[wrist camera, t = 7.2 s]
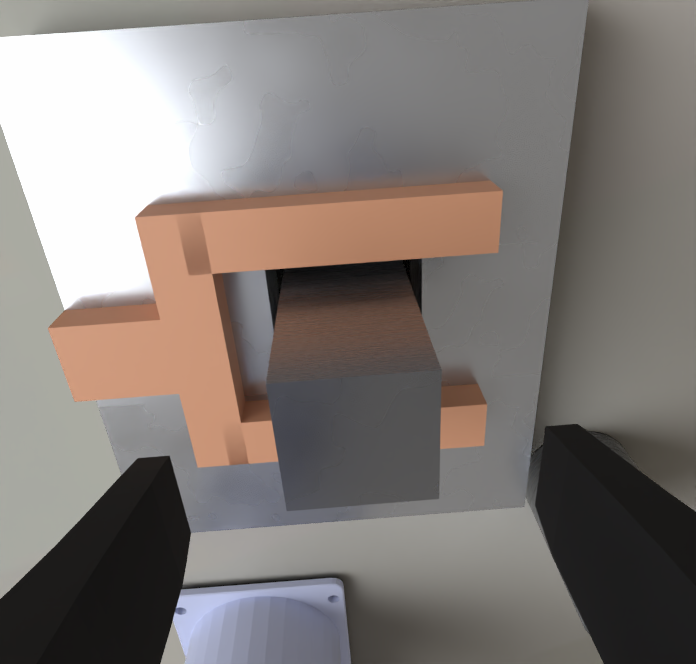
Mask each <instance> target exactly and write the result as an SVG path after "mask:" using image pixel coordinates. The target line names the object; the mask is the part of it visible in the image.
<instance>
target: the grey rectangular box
mask: <svg viewBox="0 0 696 664" xmlns="http://www.w3.org/2000/svg"><path fill="white" fill-rule="evenodd" d="M441 379H442V369H441V367H440V364H439V361H438V358H437V356H436V353H435V350H434V347H433V345H432V342H431V339H430V337H429V334H428V331H427V328H426V326H425V323H424V320H423V317H422V315H421V312H420V309H419V306H418V304H417V301H416V298H415V295H414V293H413V290H412V287H411V285H410V282H409V279H408V276H407V274H406V271H405V268H404V265H403V263H402V260H393V261H380V262H366V263H352V264H339V265H325V266H312V267H298V268H284V272H283V279H282V285H281V291H280V297H279V303H278V310H277V316H276V322H275V328H274V335H273V341H272V347H271V353H270V359H269V366H268V372H267V378H266V389H267V395H268V401H269V407H270V414H271V420H272V426H273V432H274V438H275V444H276V450H277V456H278V462H279V468H280V474H281V480H282V486H283V492H284V498H285V504H286V510H287V511H297V510H309V509H322V508H334V507H346V506H359V505H371V504H383V503H396V502H408V501H420V500H433V499H439V485H440V432H441Z"/></svg>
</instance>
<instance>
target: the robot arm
mask: <svg viewBox="0 0 696 664" xmlns="http://www.w3.org/2000/svg"><path fill="white" fill-rule="evenodd" d="M535 507H536V510H537V513H538V516H539V519H540V522H541V525H542V528H543V531H544V534H545V537H546V540H547V543H548V545H549V548H550V551H551V554H552V556H553V559H554V561H555V563H556V565H557V567H558V569H559V571H560V574H561V576H562V578H563V580H564V582H565V584H566V586H567V588H568V590H569V592H570V595H571V597H572V599H573V601H574V603H575V605H576V607H577V609H578V611H579V613H580V615H581V617H582V619H583V621H584V623H585V626H586V628H587V630H588V632H589V634H590V636H591V638H592V640H593V642H594V644H595V646H596V648H597V650H598V652H599V654H600V657H601V659H602V661H603V663H604V664H696V512H695V511H694V510H692V509H691V508H689V507H688V506H687V505H685V504H684V503H682V502H681V501H680V500H678V499H677V498H675V497H674V496H673V495H671V494H670V493H668V492H667V491H666V490H664V489H663V488H662V487H660V486H659V485H658V484H656V483H655V482H653V481H652V480H651V479H649V478H648V477H647V476H645V475H644V474H643V473H641V472H640V471H639V470H637V469H636V468H635V467H634V466H632V465H631V464H630V463H628V462H627V461H626V460H624V459H623V458H622V457H620V456H619V455H618V454H617V453H615V452H614V451H613V450H611V449H610V448H609V447H607V446H606V445H605V444H604V443H602V442H601V441H600V440H598V439H597V438H596V437H594V436H593V435H592V434H590V433H589V432H588V431H586V430H585V429H584V428H582V427H581V426H579V425H578V424H572V425H559V426H546V428H545V435H544V443H543V450H542V457H541V464H540V472H539V479H538V486H537V494H536V501H535ZM190 535H191V530H190V527H189V523H188V520H187V516H186V512H185V509H184V505H183V502H182V498H181V494H180V491H179V487H178V484H177V480H176V477H175V473H174V469H173V466H172V462H171V459H170V456H158V457H145V458H137V459H136V460H135V461H134V462H133V464H132V465H131V466H130V467H129V468H128V469H127V470H126V471H125V472H124V473H123V474H122V475H121V476H120V477H119V479H118V480H117V481H116V482H115V483H114V484H113V485H112V486H111V487H110V488H109V489H108V490H107V492H106V493H105V494H104V495H103V496H102V497H101V498H100V499H99V500H98V501H97V502H96V503H95V505H94V506H93V507H92V508H91V509H90V510H89V511H88V512H87V513H86V514H85V515H84V516H83V517H82V518H81V520H80V521H79V522H78V523H77V524H76V525H75V526H74V527H73V528H72V529H71V530H70V531H69V532H68V533H67V534H66V535H65V536H64V537H63V538H62V539H61V540H60V542H59V543H58V544H57V545H56V546H55V547H54V548H53V549H52V550H51V551H50V552H49V553H48V554H47V555H46V556H44V557H43V558H42V559H41V560H40V561H39V562H38V563H37V564H36V565H35V566H34V567H33V568H32V569H31V570H30V571H29V572H28V573H27V574H26V575H25V576H24V577H23V578H22V579H21V580H20V581H19V582H18V583H17V584H16V585H15V586H14V587H13V588H12V589H11V590H10V591H9V592H7V593H6V594H5V595H4V596H3V597H2V598H1V599H0V664H160V662H161V659H162V656H163V652H164V649H165V645H166V642H167V638H168V635H169V631H170V628H171V624H172V621H174V624H175V627H176V630H177V633H178V636H179V639H180V642H181V645H182V648H183V651H184V654H185V657H186V660H185V664H351V655H350V645H349V635H348V625H347V615H346V605H345V595H344V585H343V582H342V581H341V580H340V579H337V578H321V579H309V580H296V581H283V582H270V583H258V584H245V585H232V586H220V587H207V588H194V589H182V585H183V579H184V574H185V568H186V562H187V555H188V549H189V542H190Z"/></svg>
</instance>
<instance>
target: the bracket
mask: <svg viewBox="0 0 696 664" xmlns="http://www.w3.org/2000/svg"><path fill="white" fill-rule="evenodd" d="M502 197H503V190H501V189H500V188H499V187H498V186H497V185H495V184H494V183H493V182H492V181H491V180H490V181H477V182H463V183H449V184H435V185H421V186H407V187H394V188H380V189H366V190H352V191H338V192H324V193H311V194H297V195H283V196H269V197H255V198H242V199H228V200H214V201H200V202H186V203H172V204H159V205H147V206H146V207H145V208H144V209H143V210H142V211H141V212H140V213H139V214H137V215H136V216H135V217H134V218H135V222H136V226H137V230H138V234H139V238H140V242H141V246H142V250H143V254H144V257H145V261H146V265H147V269H148V273H149V277H150V281H151V285H152V289H153V293H154V297H155V301H156V304H142V305H129V306H115V307H102V308H88V309H74V310H65V311H64V312H63V313H62V314H61V315H60V316H59V317H58V318H57V319H56V320H55V321H54V322H53V323H52V324H51V325H50V326H49V328H48V330H49V333H50V335H51V338H52V341H53V344H54V346H55V349H56V352H57V355H58V357H59V360H60V363H61V365H62V368H63V371H64V374H65V376H66V379H67V382H68V385H69V387H70V390H71V393H72V395H73V398H74V401H75V402H78V401H91V400H105V399H118V398H131V397H144V396H158V395H171V394H179V396H180V400H181V404H182V408H183V411H184V415H185V419H186V423H187V427H188V431H189V435H190V439H191V443H192V447H193V451H194V455H195V459H196V463H197V467H198V468H200V467H213V466H226V465H239V464H253V463H266V462H278V456H277V450H276V444H275V438H274V432H273V426H272V420H271V414H270V407H269V401H268V400H258V401H245V396H244V391H243V385H242V380H241V375H240V369H239V364H238V358H237V353H236V347H235V342H234V337H233V331H232V326H231V320H230V315H229V309H228V304H227V299H226V293H225V288H224V282H223V277H222V273H230V272H243V271H257V270H271V269H284V268H298V267H312V266H325V265H339V264H352V263H366V262H380V261H393V260H407V259H420V258H434V257H448V256H461V255H475V254H488V253H498V251H499V238H500V224H501V211H502ZM486 414H487V403H486V400H485V398H484V396H483V394H482V392H481V389H480V387H479V385H478V384H469V385H456V386H443V387H441V432H440V449H448V448H462V447H475V446H484V441H485V428H486Z"/></svg>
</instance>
